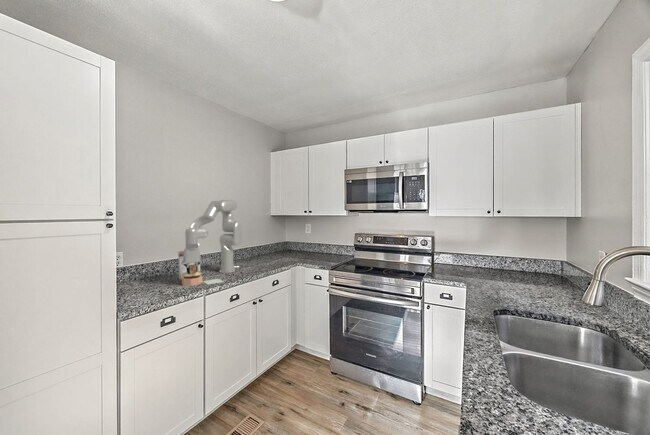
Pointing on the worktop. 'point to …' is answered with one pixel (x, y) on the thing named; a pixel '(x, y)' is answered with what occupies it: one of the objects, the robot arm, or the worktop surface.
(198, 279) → the bowl
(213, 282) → the mat
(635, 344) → the worktop surface
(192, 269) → the lid
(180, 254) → the cracker box
